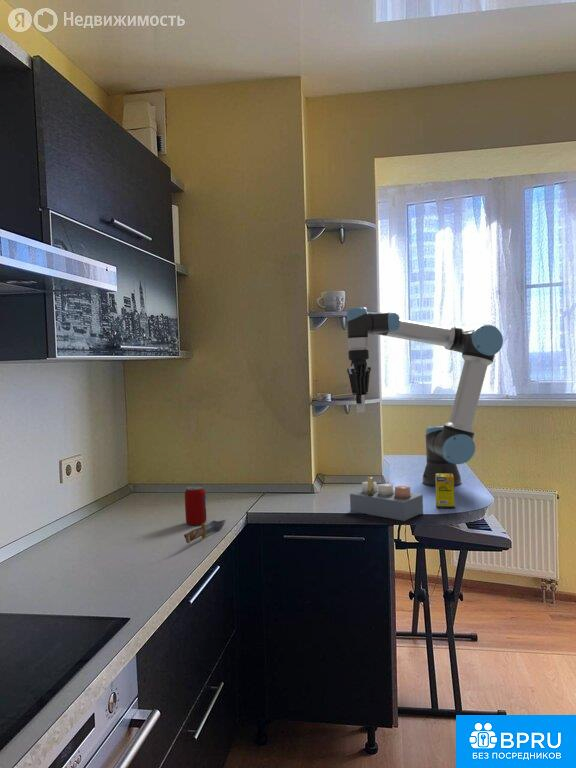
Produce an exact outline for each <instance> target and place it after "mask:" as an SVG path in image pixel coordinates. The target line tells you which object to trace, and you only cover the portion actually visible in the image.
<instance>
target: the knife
mask: <svg viewBox="0 0 576 768" xmlns="http://www.w3.org/2000/svg"><path fill="white" fill-rule="evenodd" d="M226 521H227V518H225V519H222V520H219V521H218V520H212V521H210V522H208V523H206V524H205V523H202V524H201V525H200V527H198V528H197V527H196V528H194V529H193V530H191V531H189V532H187V533H184V535H183V537H184V539H185V543H187V544H190V543H191V542H193V541H195V540H197V539H198V538H200V537H201V539H202V540H204V539H205V538H206V537H207V535H209V534H211V533H217V532H219V531H221V530H222V529H223V527H224V526H225V523H226Z"/></svg>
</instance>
